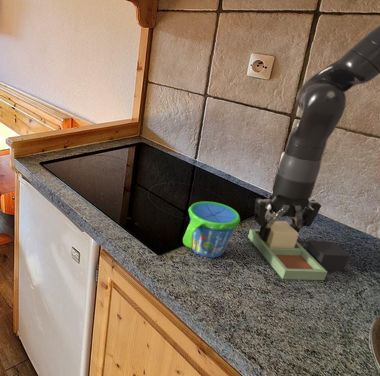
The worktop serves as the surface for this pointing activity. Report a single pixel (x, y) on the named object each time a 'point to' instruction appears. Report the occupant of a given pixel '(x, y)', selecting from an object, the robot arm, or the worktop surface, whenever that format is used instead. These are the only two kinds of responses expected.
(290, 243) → the foam pad
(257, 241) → the frame
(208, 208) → the snack cup
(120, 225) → the worktop surface
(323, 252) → the dark gray block
